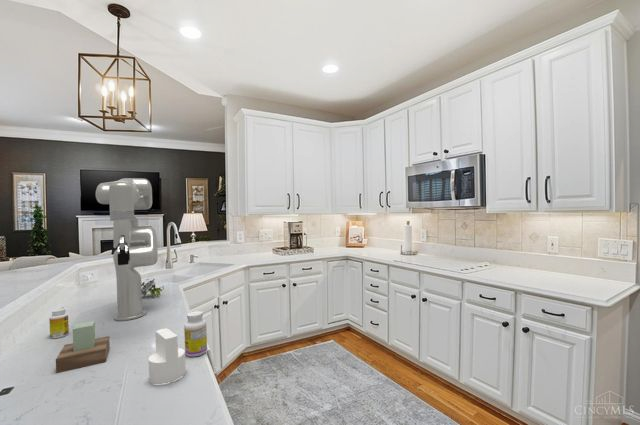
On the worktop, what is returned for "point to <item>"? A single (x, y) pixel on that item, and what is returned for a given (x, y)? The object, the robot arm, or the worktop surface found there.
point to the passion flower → (150, 288)
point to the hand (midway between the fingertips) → (124, 262)
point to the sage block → (83, 336)
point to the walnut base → (82, 355)
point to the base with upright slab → (166, 358)
